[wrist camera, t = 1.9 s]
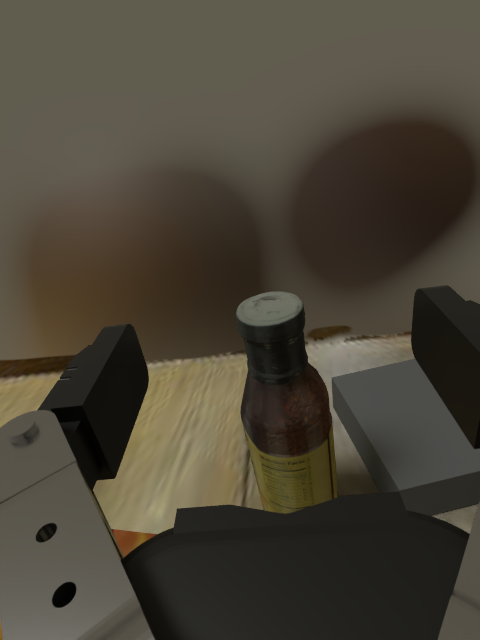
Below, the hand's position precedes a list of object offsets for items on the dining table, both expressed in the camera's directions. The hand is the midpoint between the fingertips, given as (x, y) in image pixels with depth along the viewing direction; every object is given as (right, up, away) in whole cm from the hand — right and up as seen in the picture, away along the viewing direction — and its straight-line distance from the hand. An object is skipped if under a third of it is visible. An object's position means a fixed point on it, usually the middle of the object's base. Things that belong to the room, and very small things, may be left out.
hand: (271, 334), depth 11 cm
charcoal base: (+17, -11, +26) cm, 33 cm away
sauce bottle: (+4, -16, +22) cm, 27 cm away
